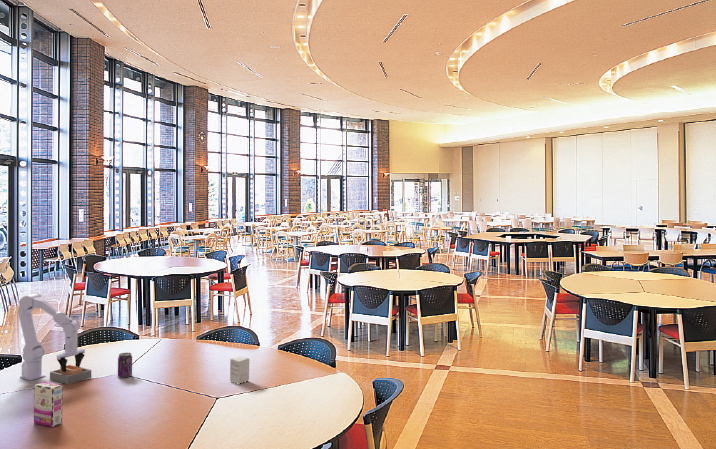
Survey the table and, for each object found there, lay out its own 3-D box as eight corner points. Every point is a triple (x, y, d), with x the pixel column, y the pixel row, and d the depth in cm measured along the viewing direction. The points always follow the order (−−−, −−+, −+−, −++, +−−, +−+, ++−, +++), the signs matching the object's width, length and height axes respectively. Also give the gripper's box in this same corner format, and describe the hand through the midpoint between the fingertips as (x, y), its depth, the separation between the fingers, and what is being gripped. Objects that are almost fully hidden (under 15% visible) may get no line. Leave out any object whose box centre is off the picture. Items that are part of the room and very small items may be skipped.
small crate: (60, 376, 270) (60, 367, 270) (69, 373, 275) (70, 364, 275) (72, 379, 266) (72, 370, 266) (81, 377, 271) (82, 367, 271)
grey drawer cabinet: (240, 378, 278) (240, 355, 278) (249, 381, 274) (249, 358, 273) (229, 382, 272) (229, 358, 272) (238, 385, 268) (239, 361, 267)
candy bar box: (63, 423, 215) (63, 384, 215) (52, 428, 211) (52, 388, 210) (44, 418, 219) (44, 381, 219) (33, 423, 215) (33, 384, 214)
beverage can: (126, 378, 272) (126, 356, 272) (114, 377, 274) (115, 355, 273) (134, 374, 279) (135, 352, 279) (123, 373, 281) (123, 351, 280)
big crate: (49, 379, 268) (49, 371, 268) (73, 372, 280) (73, 365, 280) (68, 384, 261) (68, 376, 261) (91, 377, 273) (91, 369, 273)
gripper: (62, 348, 262) (62, 374, 262) (88, 342, 275) (88, 367, 275) (54, 346, 265) (53, 372, 265) (80, 340, 278) (79, 365, 278)
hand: (70, 369), depth 270 cm, fingers open, 7 cm apart
